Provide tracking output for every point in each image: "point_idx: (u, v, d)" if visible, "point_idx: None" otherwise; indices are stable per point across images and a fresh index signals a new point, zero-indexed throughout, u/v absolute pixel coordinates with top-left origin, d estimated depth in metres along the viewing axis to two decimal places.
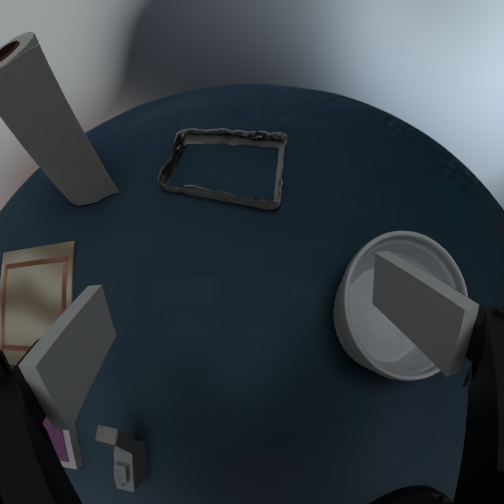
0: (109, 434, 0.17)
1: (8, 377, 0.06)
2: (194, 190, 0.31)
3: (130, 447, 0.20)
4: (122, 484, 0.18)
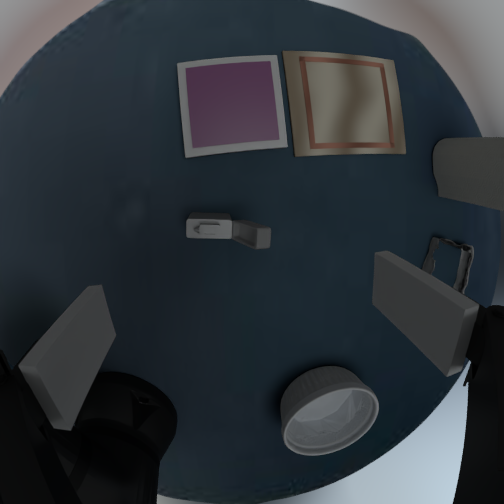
0: (264, 242, 0.25)
1: (8, 377, 0.06)
2: (429, 267, 0.35)
3: None
4: (196, 231, 0.27)
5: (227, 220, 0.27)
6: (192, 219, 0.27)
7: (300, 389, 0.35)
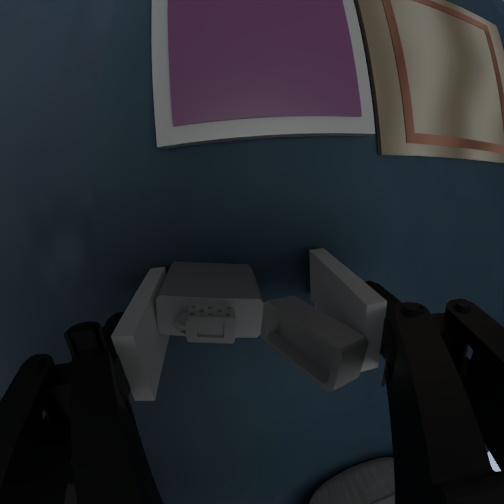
0: (351, 373, 0.09)
1: (101, 351, 0.08)
2: None
3: None
4: (179, 329, 0.11)
5: (252, 299, 0.12)
6: (169, 296, 0.11)
7: (342, 499, 0.19)
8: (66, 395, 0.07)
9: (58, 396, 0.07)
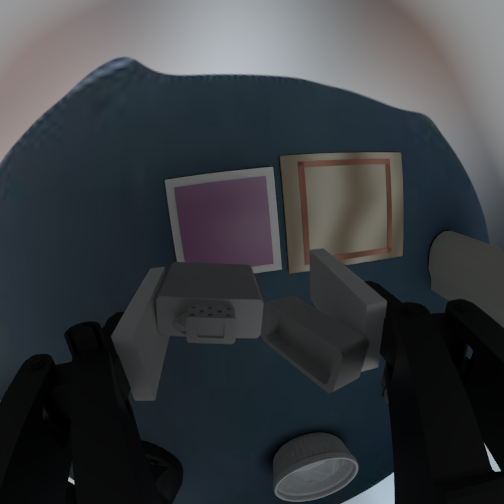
0: (351, 374, 0.09)
1: (101, 350, 0.08)
2: None
3: None
4: (180, 329, 0.11)
5: (252, 299, 0.12)
6: (169, 296, 0.11)
7: (289, 455, 0.36)
8: (66, 395, 0.07)
9: (58, 396, 0.07)
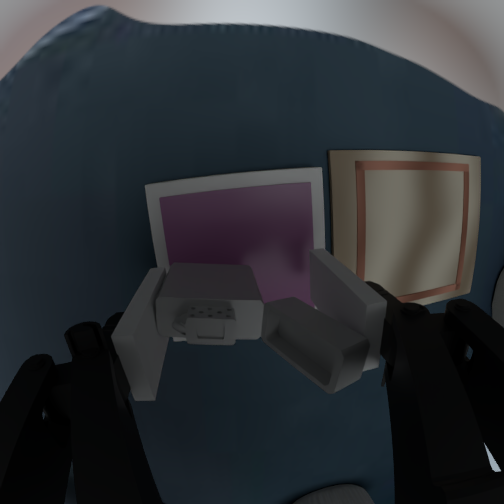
0: (352, 375, 0.09)
1: (101, 351, 0.08)
2: None
3: None
4: (179, 331, 0.11)
5: (252, 300, 0.12)
6: (169, 297, 0.11)
7: None
8: (66, 395, 0.07)
9: (58, 396, 0.07)
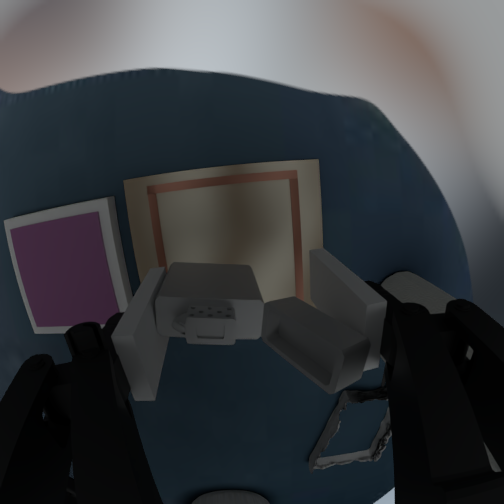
0: (352, 375, 0.09)
1: (101, 350, 0.08)
2: (334, 424, 0.27)
3: None
4: (179, 330, 0.11)
5: (253, 300, 0.11)
6: (169, 297, 0.11)
7: None
8: (66, 395, 0.07)
9: (58, 396, 0.07)
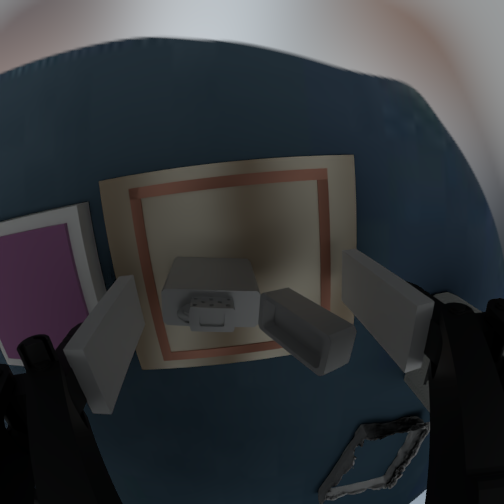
0: (340, 359, 0.10)
1: (52, 363, 0.07)
2: (349, 460, 0.22)
3: None
4: (183, 319, 0.12)
5: (250, 291, 0.13)
6: (174, 289, 0.12)
7: None
8: (22, 405, 0.06)
9: (15, 406, 0.06)
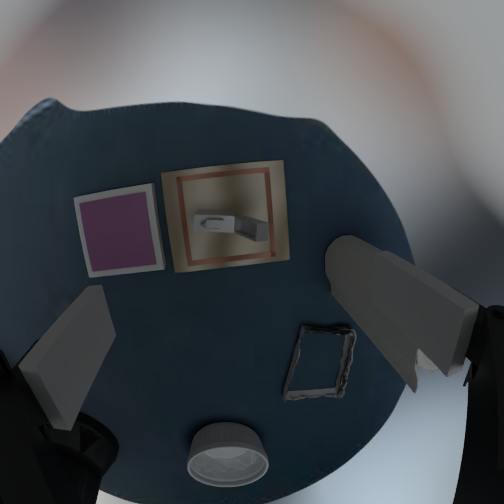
0: (263, 235, 0.28)
1: (8, 377, 0.06)
2: (297, 353, 0.40)
3: None
4: (203, 225, 0.30)
5: (230, 216, 0.31)
6: (199, 215, 0.30)
7: (200, 439, 0.41)
8: None
9: None
